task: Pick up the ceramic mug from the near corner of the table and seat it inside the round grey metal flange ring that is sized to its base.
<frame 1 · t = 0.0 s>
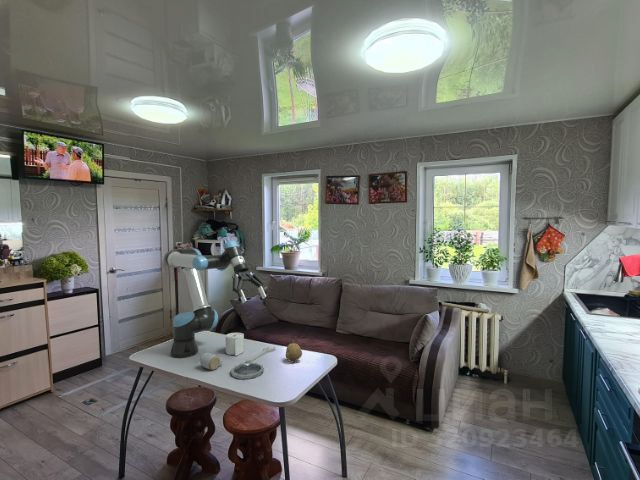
hand: (254, 299, 178), 36 cm above the table, tool tilted 35°, fingers open, 13 cm apart
natural sponge: (294, 361, 186), on the table
toilet tissue: (235, 352, 200), on the table
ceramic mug: (212, 367, 178), on the table
flange seat: (247, 372, 171), on the table
adjustable wrench: (260, 355, 195), on the table
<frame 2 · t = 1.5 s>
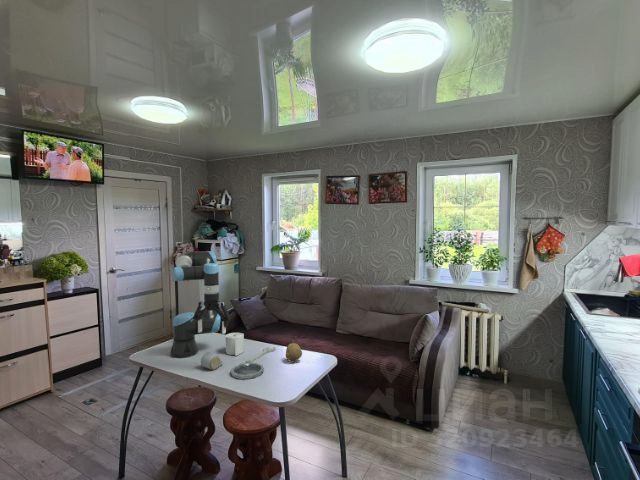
hand: (212, 332, 177), 19 cm above the table, tool pointing down, fingers open, 13 cm apart
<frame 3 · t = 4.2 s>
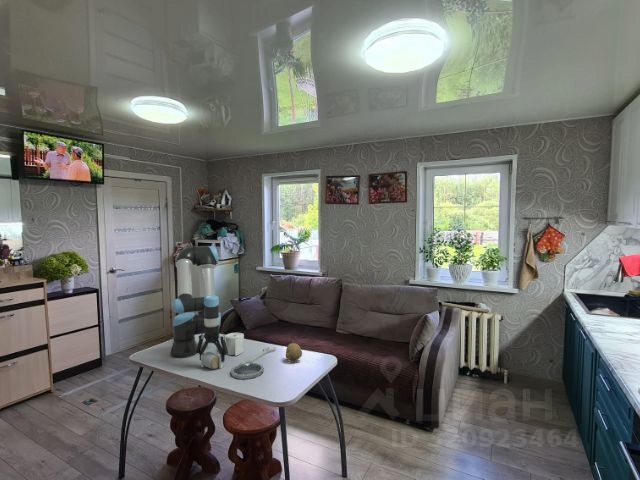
hand: (212, 366, 178), 0 cm above the table, tool pointing down, fingers closed on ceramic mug, 10 cm apart
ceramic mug: (213, 367, 179), on the table, touching gripper
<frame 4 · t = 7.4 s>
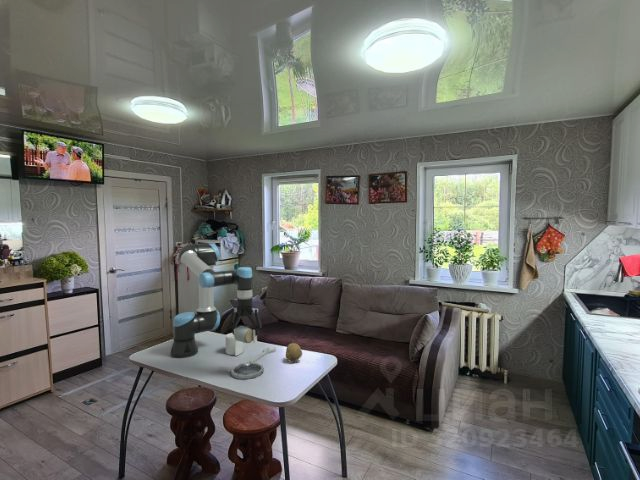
hand: (245, 341, 171), 16 cm above the table, tool pointing down, fingers closed on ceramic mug, 10 cm apart
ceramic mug: (246, 341, 172), point 16 cm above the table, touching gripper
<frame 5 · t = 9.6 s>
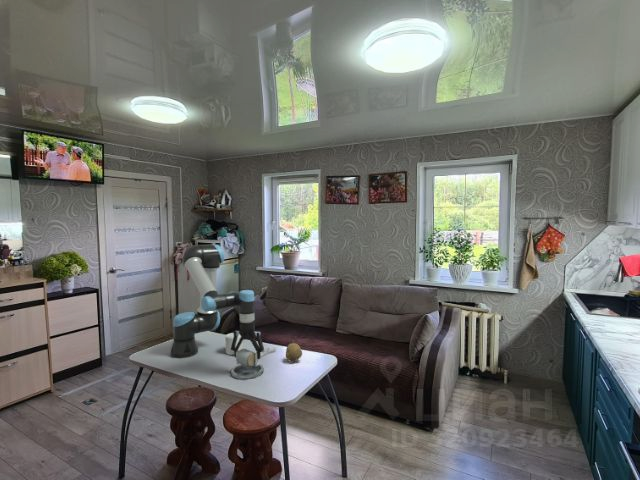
hand: (247, 364, 171), 4 cm above the table, tool pointing down, fingers closed on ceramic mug, 10 cm apart
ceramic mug: (248, 364, 172), point 4 cm above the table, touching gripper
when the fingers open (3 cm above the table, at t = 10.9 s): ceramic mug drops 2 cm, resting on flange seat.
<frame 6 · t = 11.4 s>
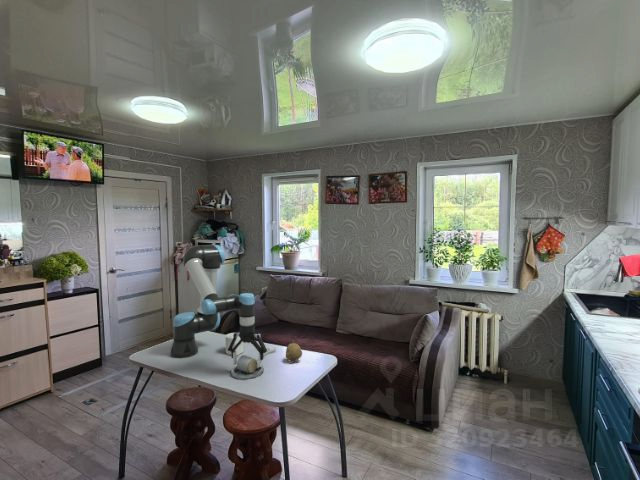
hand: (247, 365, 171), 4 cm above the table, tool pointing down, fingers open, 13 cm apart
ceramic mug: (249, 370, 172), resting on flange seat
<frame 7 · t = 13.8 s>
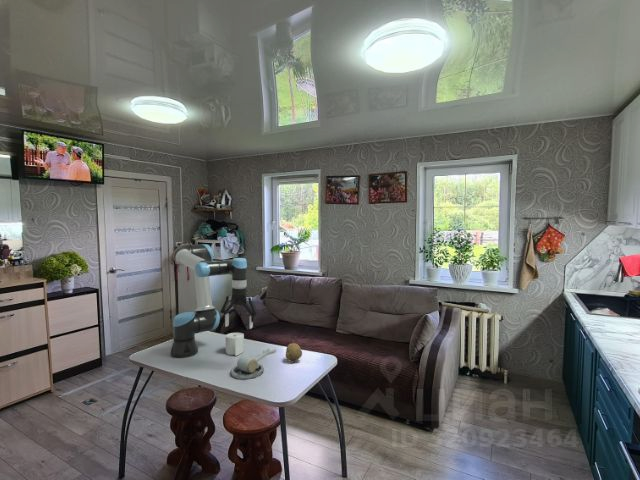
hand: (238, 327, 178), 21 cm above the table, tool pointing down, fingers open, 13 cm apart
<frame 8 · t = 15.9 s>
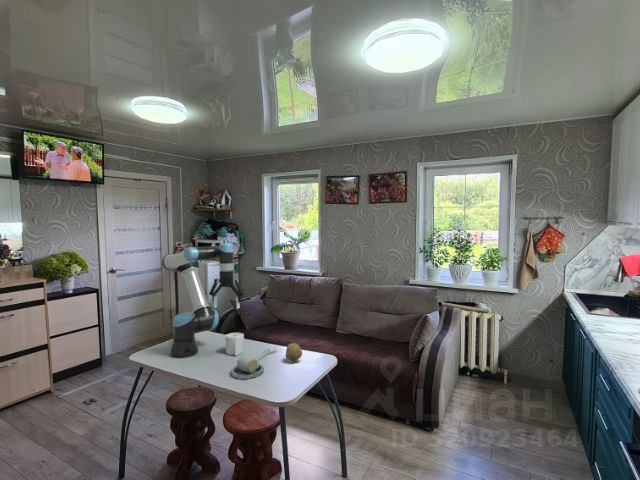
hand: (226, 307, 191), 29 cm above the table, tool pointing down, fingers open, 13 cm apart
at the end: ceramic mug 1.3 cm off-centre on the flange seat, point 0.4 cm above the flange seat's base; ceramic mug tilted 0°; the gripper is holding nothing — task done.
